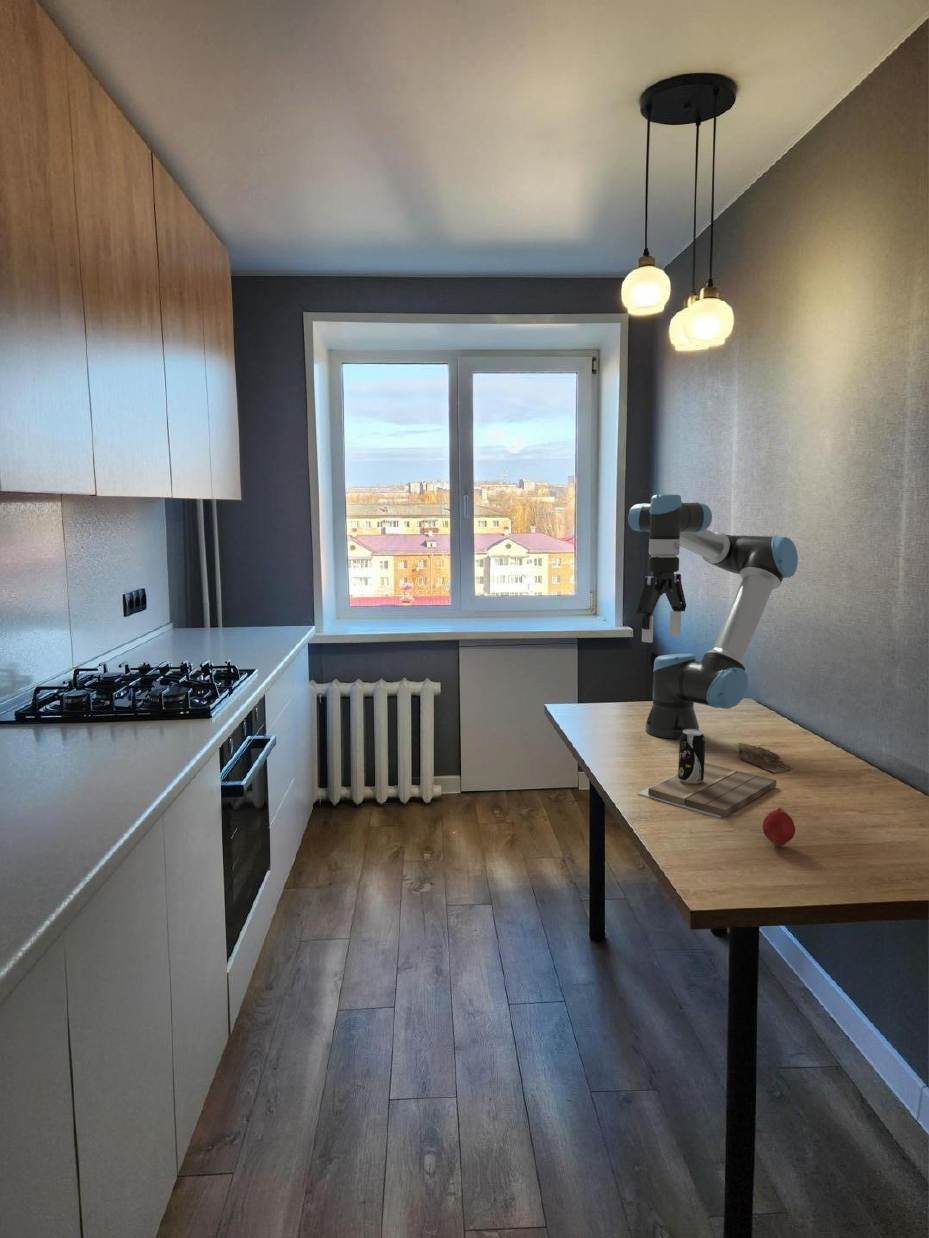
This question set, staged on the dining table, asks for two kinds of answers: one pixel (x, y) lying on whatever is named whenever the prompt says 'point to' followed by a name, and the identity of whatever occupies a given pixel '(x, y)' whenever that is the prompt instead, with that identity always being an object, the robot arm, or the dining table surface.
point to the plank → (681, 791)
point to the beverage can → (691, 756)
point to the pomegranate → (778, 827)
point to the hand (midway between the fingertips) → (661, 639)
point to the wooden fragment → (762, 758)
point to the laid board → (731, 793)
